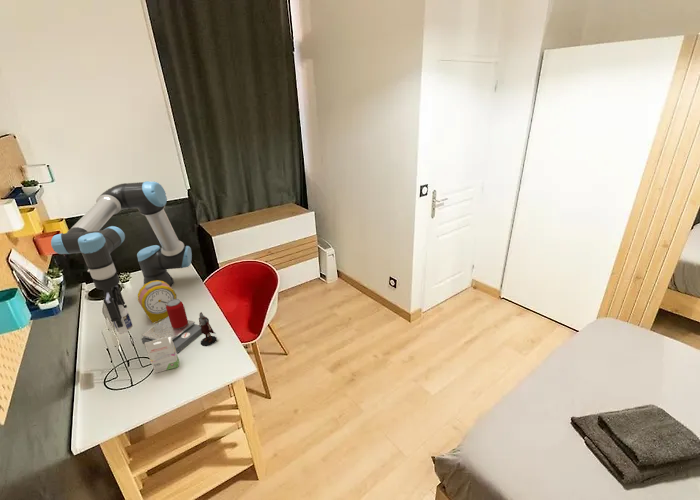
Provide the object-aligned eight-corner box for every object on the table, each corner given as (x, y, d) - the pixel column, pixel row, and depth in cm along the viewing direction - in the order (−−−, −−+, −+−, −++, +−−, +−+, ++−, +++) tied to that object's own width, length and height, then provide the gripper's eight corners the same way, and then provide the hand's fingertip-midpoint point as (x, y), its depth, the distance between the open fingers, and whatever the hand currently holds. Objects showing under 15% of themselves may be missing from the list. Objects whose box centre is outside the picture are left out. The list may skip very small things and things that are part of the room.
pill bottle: (125, 333, 134) (117, 312, 130) (113, 332, 135) (105, 311, 131) (136, 325, 139) (128, 304, 135) (124, 323, 140) (116, 303, 136)
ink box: (179, 359, 144) (169, 329, 137) (178, 367, 139) (168, 337, 133) (155, 365, 141) (145, 335, 135) (154, 373, 137) (143, 343, 130)
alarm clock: (148, 325, 166) (137, 292, 158) (144, 318, 171) (132, 285, 164) (181, 312, 174) (171, 280, 167) (176, 305, 180) (166, 274, 172)
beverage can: (184, 318, 162) (178, 296, 157) (190, 324, 157) (184, 301, 152) (169, 325, 158) (162, 302, 153) (175, 331, 153) (168, 308, 148)
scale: (171, 322, 167) (170, 316, 166) (204, 330, 160) (203, 325, 159) (142, 343, 154) (140, 337, 153) (177, 353, 147) (175, 347, 145)
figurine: (196, 344, 152) (188, 314, 145) (209, 334, 158) (202, 305, 151) (208, 348, 149) (200, 318, 143) (221, 337, 155) (214, 308, 149)
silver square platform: (170, 318, 166) (169, 315, 165) (195, 324, 160) (194, 321, 159) (142, 338, 153) (141, 335, 152) (168, 345, 148) (167, 342, 147)
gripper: (97, 267, 133) (117, 318, 143) (86, 289, 118) (109, 345, 128) (120, 262, 136) (138, 313, 146) (112, 284, 120) (132, 339, 130)
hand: (124, 328), depth 137 cm, fingers closed on pill bottle, 5 cm apart
